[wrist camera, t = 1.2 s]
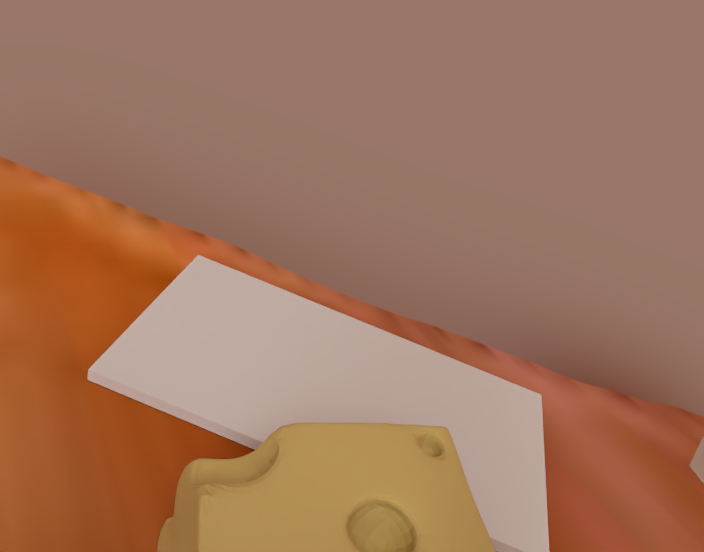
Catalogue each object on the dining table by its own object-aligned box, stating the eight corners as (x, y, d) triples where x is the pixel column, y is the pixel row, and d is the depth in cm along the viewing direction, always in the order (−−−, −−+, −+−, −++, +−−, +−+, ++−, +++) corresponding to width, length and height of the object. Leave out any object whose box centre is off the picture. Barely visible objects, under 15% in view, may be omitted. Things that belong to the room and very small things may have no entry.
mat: (87, 379, 32) (88, 369, 32) (196, 263, 43) (198, 254, 42) (542, 570, 31) (549, 562, 31) (536, 402, 42) (541, 394, 42)
